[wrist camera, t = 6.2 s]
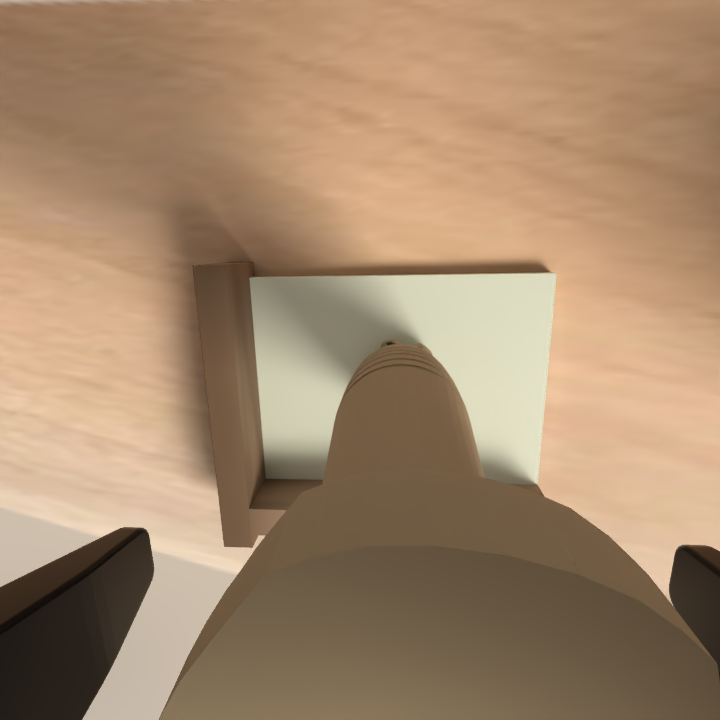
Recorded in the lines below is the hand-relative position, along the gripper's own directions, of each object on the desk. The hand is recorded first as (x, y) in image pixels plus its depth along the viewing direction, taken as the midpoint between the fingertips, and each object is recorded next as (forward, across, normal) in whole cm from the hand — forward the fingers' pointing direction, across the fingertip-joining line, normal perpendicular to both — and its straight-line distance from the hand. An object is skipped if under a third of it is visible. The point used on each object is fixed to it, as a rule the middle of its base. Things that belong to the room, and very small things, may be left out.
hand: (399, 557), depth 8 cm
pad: (+12, 0, 0) cm, 12 cm away
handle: (+11, 0, 0) cm, 11 cm away
